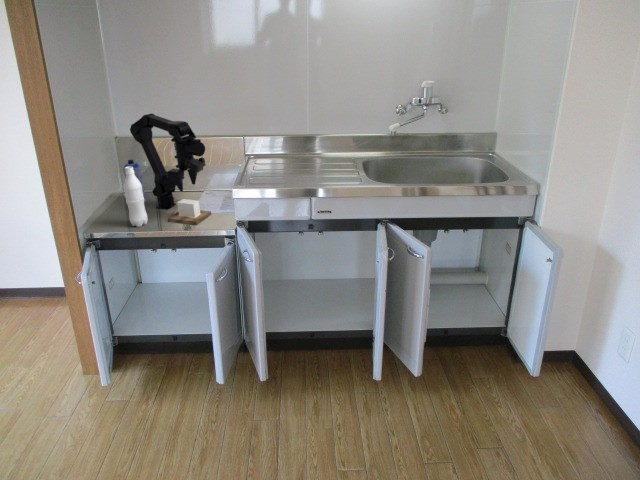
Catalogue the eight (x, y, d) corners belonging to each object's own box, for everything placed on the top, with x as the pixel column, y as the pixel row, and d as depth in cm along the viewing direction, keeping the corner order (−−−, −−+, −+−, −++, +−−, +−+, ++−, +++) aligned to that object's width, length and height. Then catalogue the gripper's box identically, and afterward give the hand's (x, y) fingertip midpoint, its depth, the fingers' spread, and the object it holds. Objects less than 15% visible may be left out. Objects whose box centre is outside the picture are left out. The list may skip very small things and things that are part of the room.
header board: (168, 221, 214) (166, 210, 212) (183, 211, 224) (182, 200, 222) (197, 225, 210) (195, 214, 208) (211, 214, 220) (210, 203, 218)
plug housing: (179, 215, 216) (177, 202, 213) (184, 211, 219) (182, 198, 217) (195, 217, 213) (193, 204, 211) (200, 213, 217) (198, 200, 215)
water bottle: (134, 221, 215) (123, 164, 204) (151, 220, 215) (140, 164, 204) (128, 227, 209) (116, 170, 198) (145, 227, 208) (134, 169, 198)
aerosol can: (145, 197, 241) (138, 156, 233) (147, 202, 235) (140, 161, 226) (128, 200, 239) (120, 159, 230) (130, 205, 232) (121, 163, 224)
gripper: (187, 160, 200) (191, 197, 207) (211, 148, 216) (215, 183, 223) (163, 158, 204) (168, 194, 210) (189, 146, 219) (193, 180, 226)
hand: (187, 187), depth 217 cm, fingers open, 9 cm apart
